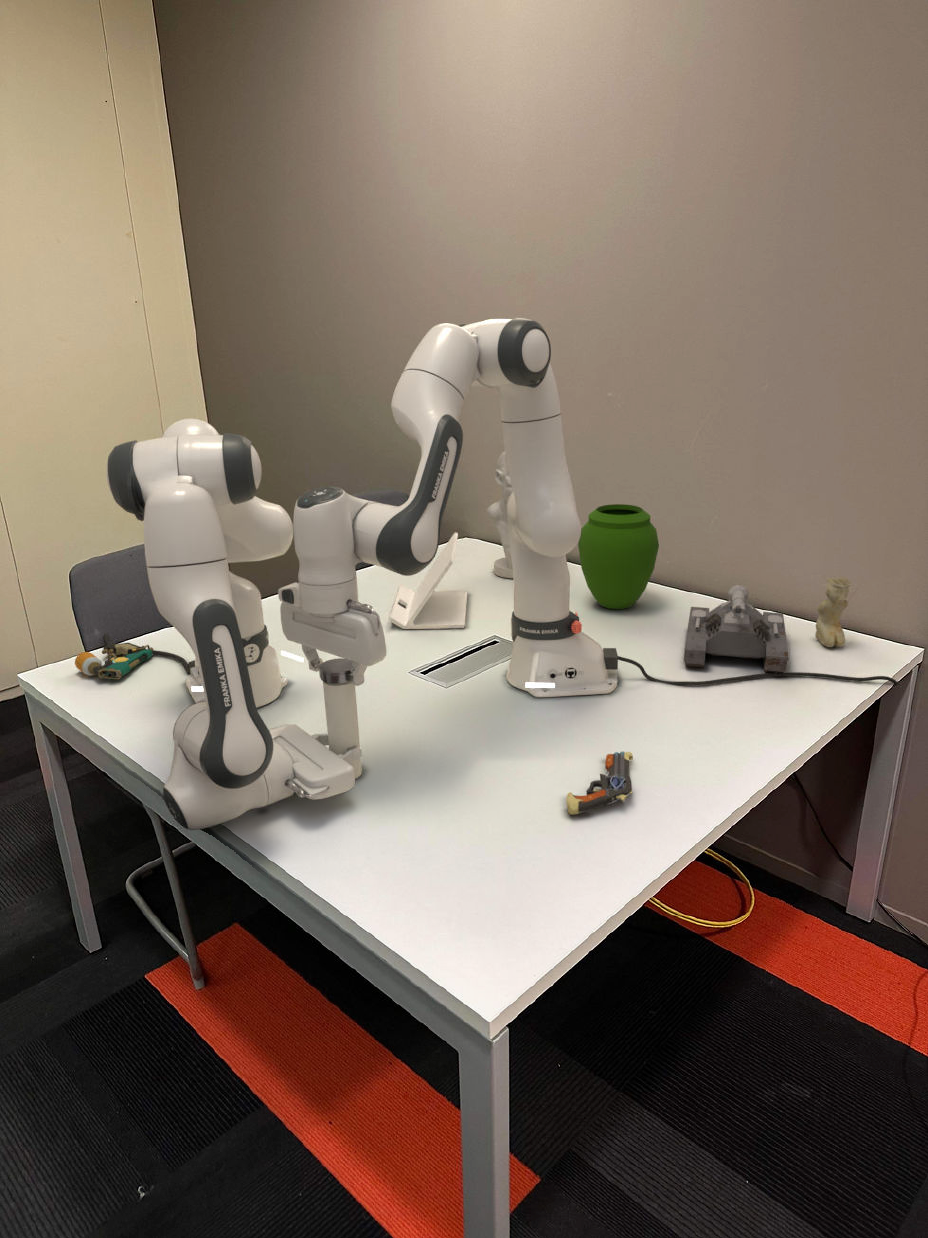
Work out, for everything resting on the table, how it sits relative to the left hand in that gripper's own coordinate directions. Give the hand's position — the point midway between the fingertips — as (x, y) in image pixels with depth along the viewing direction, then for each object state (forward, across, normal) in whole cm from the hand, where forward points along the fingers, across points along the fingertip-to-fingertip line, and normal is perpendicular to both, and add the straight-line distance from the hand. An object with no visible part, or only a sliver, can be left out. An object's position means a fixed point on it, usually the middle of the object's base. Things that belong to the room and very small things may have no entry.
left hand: (348, 743), depth 141 cm
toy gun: (+28, -31, +5) cm, 42 cm away
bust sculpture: (+93, +59, +5) cm, 110 cm away
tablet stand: (+56, +54, +5) cm, 78 cm away
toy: (+89, -12, +5) cm, 90 cm away
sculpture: (+108, -23, +5) cm, 110 cm away
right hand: (-1, 0, -12) cm, 12 cm away
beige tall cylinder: (-1, 0, +5) cm, 5 cm away
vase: (+93, +25, +5) cm, 96 cm away
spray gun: (-16, +72, +5) cm, 73 cm away
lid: (-1, 0, -14) cm, 14 cm away
